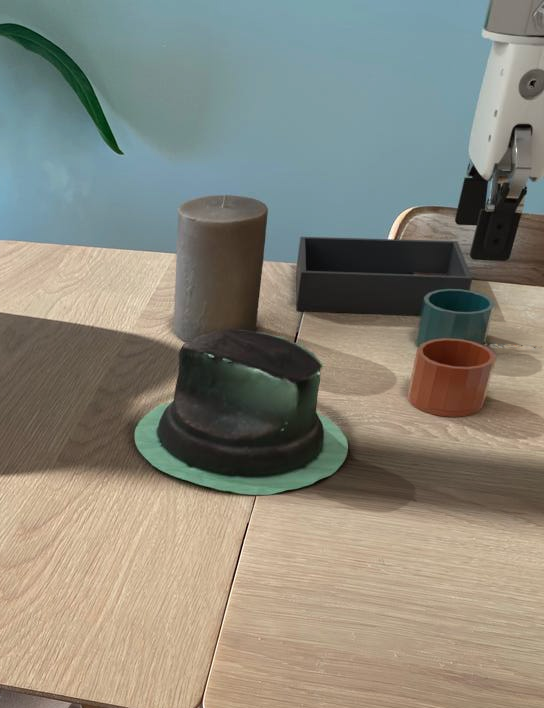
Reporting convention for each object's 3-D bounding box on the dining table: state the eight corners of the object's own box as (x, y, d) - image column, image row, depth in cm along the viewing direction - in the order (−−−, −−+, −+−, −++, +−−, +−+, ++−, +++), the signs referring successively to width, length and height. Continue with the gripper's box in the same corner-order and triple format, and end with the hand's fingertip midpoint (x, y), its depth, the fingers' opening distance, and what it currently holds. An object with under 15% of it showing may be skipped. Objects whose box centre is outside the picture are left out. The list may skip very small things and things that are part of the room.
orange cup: (477, 387, 100) (489, 340, 97) (487, 419, 95) (501, 370, 91) (404, 383, 101) (414, 336, 98) (411, 414, 96) (421, 366, 93)
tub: (449, 278, 124) (457, 241, 121) (463, 317, 114) (472, 278, 111) (295, 272, 127) (300, 236, 124) (296, 311, 117) (301, 272, 114)
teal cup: (477, 334, 110) (489, 290, 107) (487, 360, 105) (499, 315, 102) (412, 331, 111) (421, 287, 108) (418, 357, 106) (427, 312, 103)
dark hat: (382, 408, 95) (327, 514, 82) (217, 456, 107) (146, 555, 93) (327, 263, 89) (258, 352, 76) (159, 330, 101) (74, 417, 87)
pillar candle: (273, 329, 113) (288, 192, 103) (222, 355, 108) (234, 213, 98) (205, 309, 118) (214, 176, 109) (154, 333, 113) (159, 196, 103)
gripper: (615, 34, 69) (543, 276, 80) (563, 2, 82) (507, 214, 93) (504, 32, 70) (448, 272, 81) (470, 1, 83) (426, 211, 94)
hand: (480, 241), depth 87 cm, fingers open, 9 cm apart
